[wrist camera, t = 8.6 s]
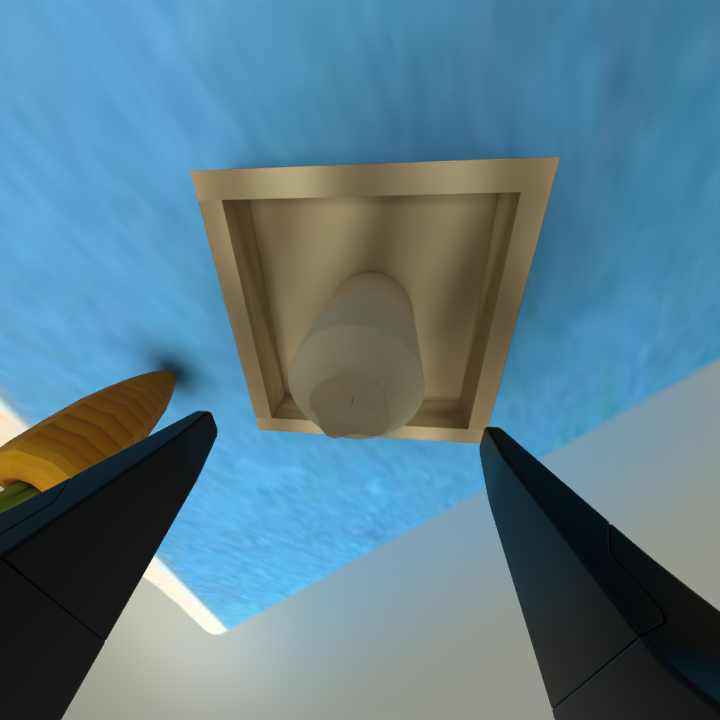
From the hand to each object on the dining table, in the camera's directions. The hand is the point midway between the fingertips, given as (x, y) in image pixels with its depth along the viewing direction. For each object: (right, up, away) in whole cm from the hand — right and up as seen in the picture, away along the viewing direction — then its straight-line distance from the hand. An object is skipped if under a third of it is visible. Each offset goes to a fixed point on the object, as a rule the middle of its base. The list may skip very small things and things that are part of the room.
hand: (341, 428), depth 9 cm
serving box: (+1, +6, +10) cm, 12 cm away
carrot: (-15, +1, +15) cm, 22 cm away
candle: (+1, +5, +10) cm, 11 cm away
